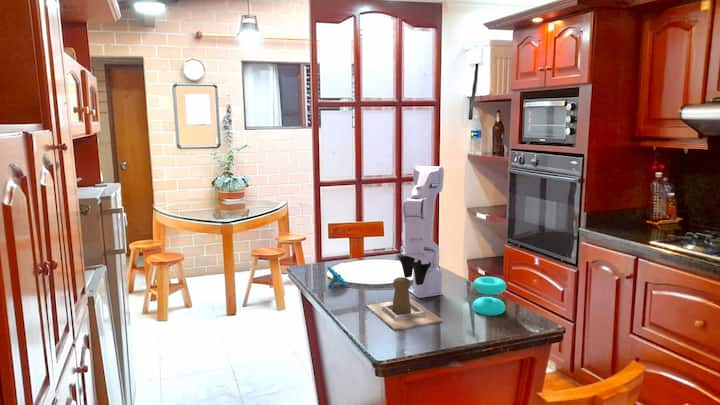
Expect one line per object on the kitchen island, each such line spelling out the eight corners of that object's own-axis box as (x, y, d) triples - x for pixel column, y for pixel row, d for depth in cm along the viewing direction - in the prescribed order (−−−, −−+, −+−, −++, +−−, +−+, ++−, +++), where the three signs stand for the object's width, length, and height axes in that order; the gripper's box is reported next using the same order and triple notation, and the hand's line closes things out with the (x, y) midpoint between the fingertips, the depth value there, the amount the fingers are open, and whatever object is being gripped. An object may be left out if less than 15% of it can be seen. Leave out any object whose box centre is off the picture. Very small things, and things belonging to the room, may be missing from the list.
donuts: (490, 287, 155) (466, 278, 163) (488, 319, 157) (465, 309, 165) (513, 282, 160) (489, 273, 169) (512, 312, 162) (488, 303, 170)
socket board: (410, 299, 173) (411, 294, 173) (442, 321, 155) (442, 316, 155) (366, 306, 167) (366, 301, 167) (394, 330, 149) (394, 324, 149)
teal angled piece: (351, 287, 181) (330, 267, 180) (339, 299, 181) (318, 280, 180) (348, 281, 192) (329, 262, 191) (337, 293, 192) (318, 274, 191)
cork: (405, 317, 157) (406, 282, 155) (388, 313, 160) (388, 279, 158) (414, 311, 162) (415, 277, 160) (397, 307, 165) (397, 274, 163)
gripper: (392, 233, 163) (391, 275, 166) (413, 244, 150) (413, 289, 153) (412, 231, 166) (411, 272, 168) (435, 242, 153) (434, 286, 155)
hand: (413, 280), depth 161 cm, fingers open, 7 cm apart
